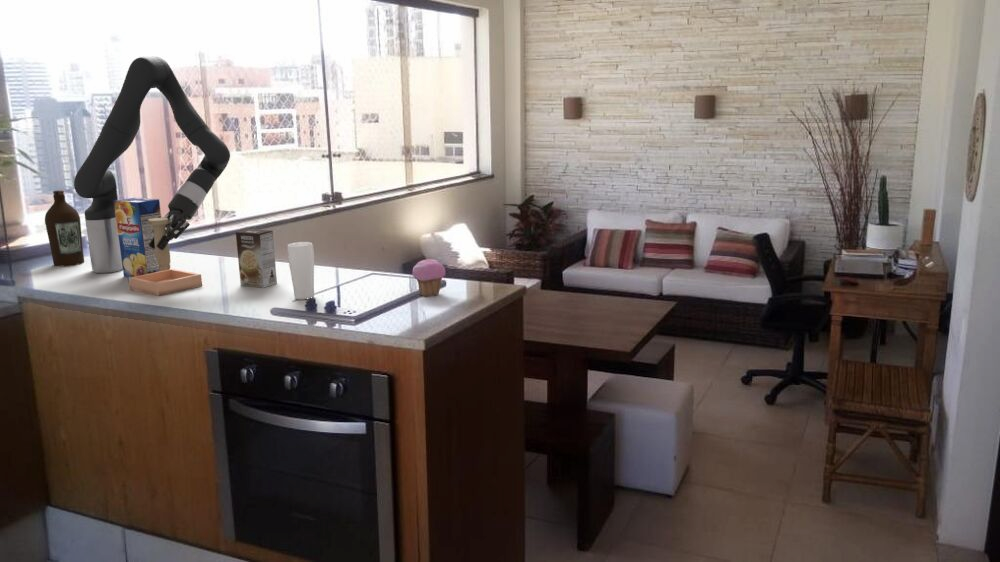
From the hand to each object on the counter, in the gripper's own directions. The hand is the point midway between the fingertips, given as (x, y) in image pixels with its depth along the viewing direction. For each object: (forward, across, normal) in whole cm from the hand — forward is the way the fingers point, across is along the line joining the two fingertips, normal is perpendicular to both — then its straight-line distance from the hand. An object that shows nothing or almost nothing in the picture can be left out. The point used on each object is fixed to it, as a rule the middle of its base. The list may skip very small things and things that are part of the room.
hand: (155, 247), depth 237 cm
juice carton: (+3, -21, +14) cm, 26 cm away
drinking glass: (-1, +46, +20) cm, 50 cm away
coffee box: (-4, +21, +22) cm, 31 cm away
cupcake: (-15, +74, +34) cm, 83 cm away
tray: (+7, 0, +10) cm, 12 cm away
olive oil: (+5, -64, +12) cm, 65 cm away
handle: (+4, 0, +6) cm, 7 cm away
